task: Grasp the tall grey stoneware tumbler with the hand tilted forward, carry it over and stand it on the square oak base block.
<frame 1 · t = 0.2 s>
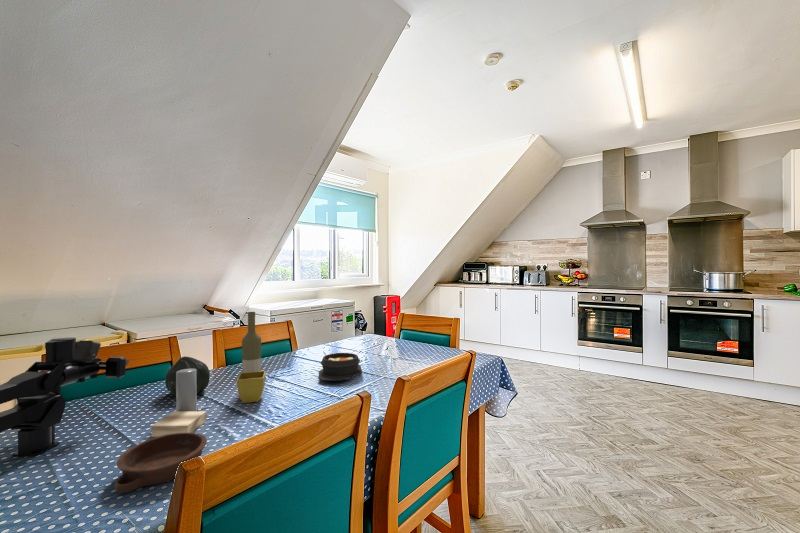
hand: (114, 360, 119), 17 cm above the table, tool horizontal, fingers open, 9 cm apart
base block: (180, 428, 106), on the table
dish: (164, 470, 85), on the table
tumbler: (186, 414, 116), on the table
bottle: (251, 391, 138), on the table
casserole: (340, 376, 156), on the table
flower pot: (251, 400, 128), on the table
squash: (188, 393, 136), on the table
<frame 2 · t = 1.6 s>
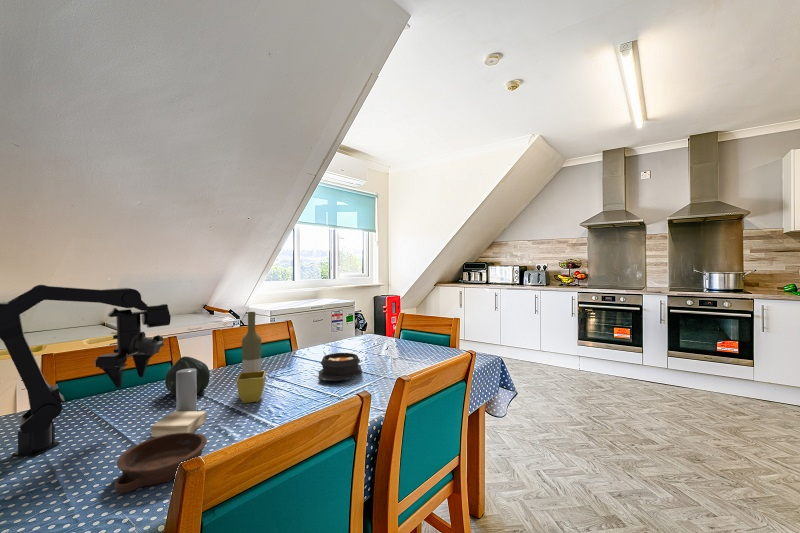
hand: (130, 382, 108), 13 cm above the table, tool pointing down, fingers open, 9 cm apart
nothing on the table moved.
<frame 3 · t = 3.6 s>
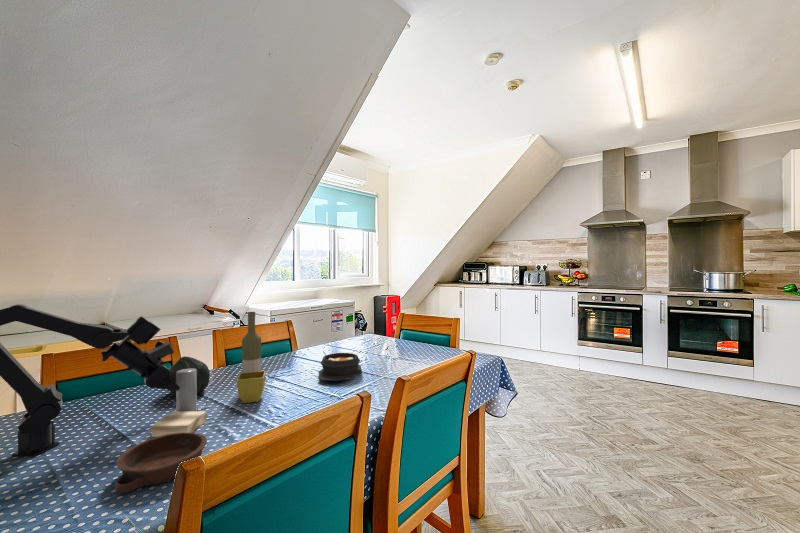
hand: (176, 385, 114), 10 cm above the table, tool tilted 45°, fingers open, 9 cm apart
nothing on the table moved.
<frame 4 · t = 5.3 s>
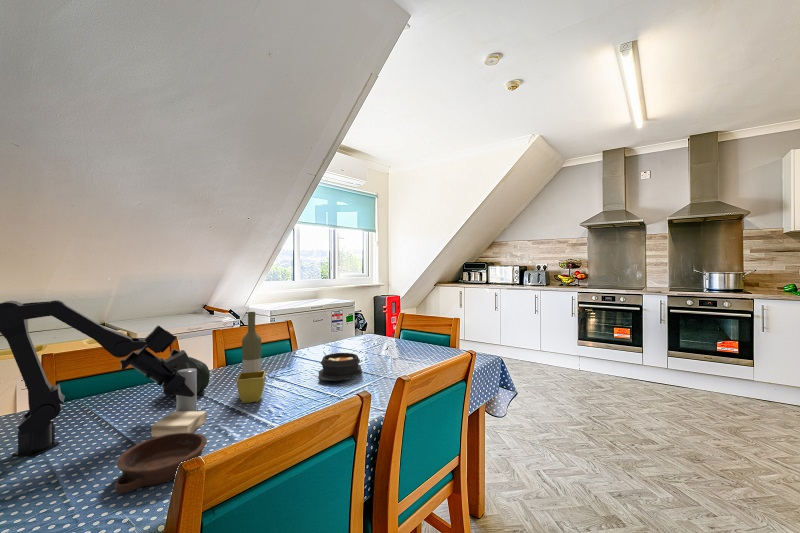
hand: (191, 393, 117), 7 cm above the table, tool tilted 45°, fingers closed on tumbler, 6 cm apart
tumbler: (186, 414, 116), on the table, touching gripper
everything else where it was.
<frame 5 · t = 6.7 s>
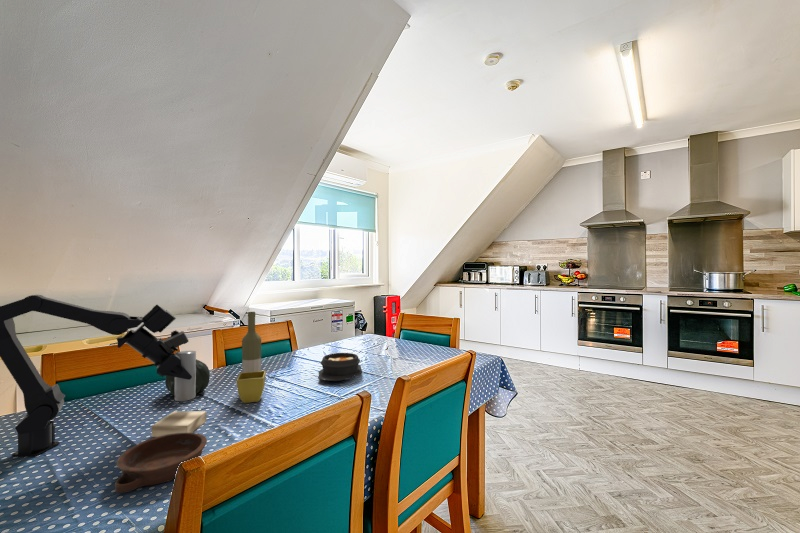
hand: (190, 375, 113), 13 cm above the table, tool tilted 45°, fingers closed on tumbler, 6 cm apart
tumbler: (185, 397, 112), point 7 cm above the table, touching gripper
everything else where it was.
when the fingers open (10 cm above the table, at t = 8.2 s): tumbler stays where it is, resting on base block.
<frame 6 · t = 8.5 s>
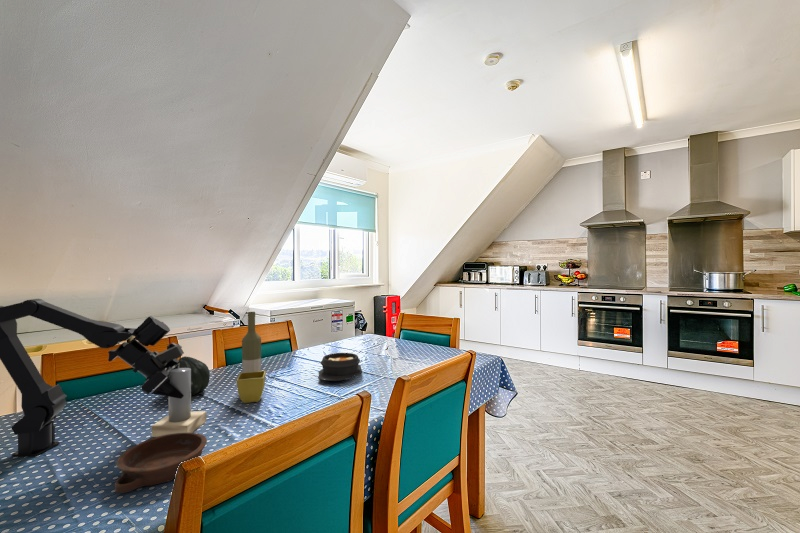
hand: (185, 391, 106), 11 cm above the table, tool tilted 45°, fingers open, 9 cm apart
tumbler: (179, 418, 106), point 3 cm above the table, touching base block
everything else where it was.
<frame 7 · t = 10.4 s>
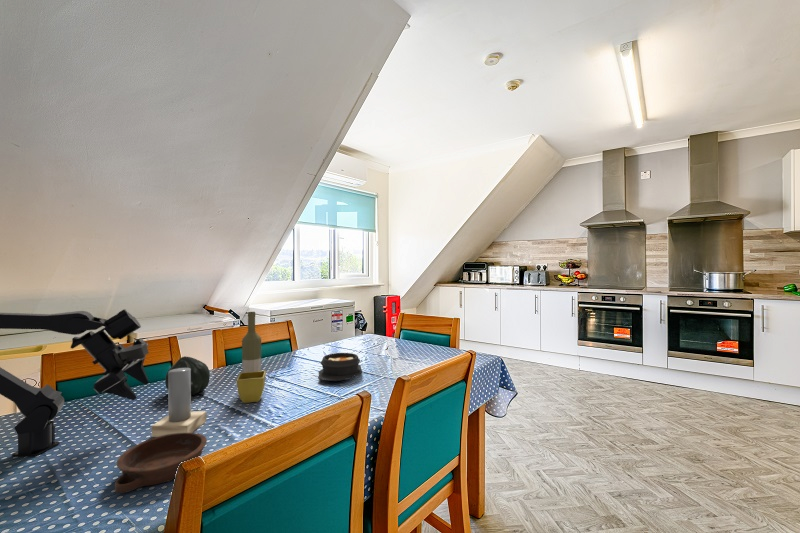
hand: (141, 391, 105), 11 cm above the table, tool tilted 35°, fingers open, 9 cm apart
nothing on the table moved.
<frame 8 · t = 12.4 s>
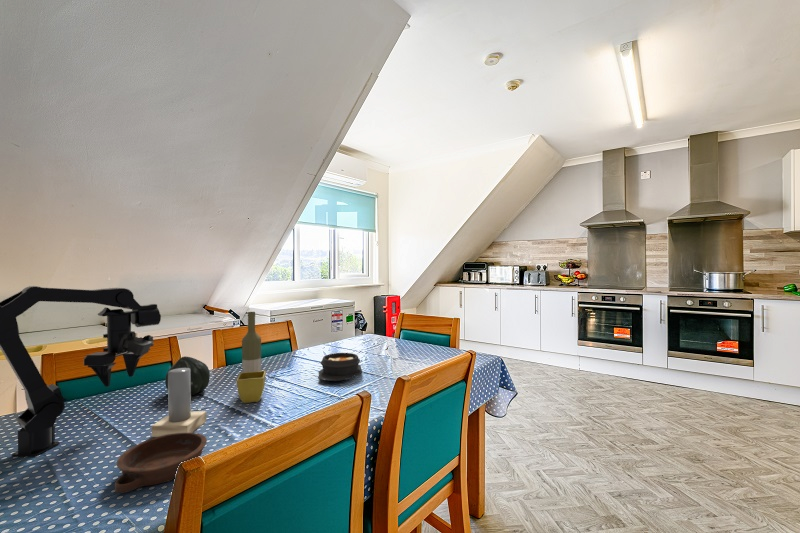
hand: (119, 381, 109), 13 cm above the table, tool pointing down, fingers open, 9 cm apart
nothing on the table moved.
at the end: tumbler inside the target area on the base block (0.1 cm from its centre), point 3.1 cm above the base block's base; tumbler tilted 1°; the gripper is holding nothing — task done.
